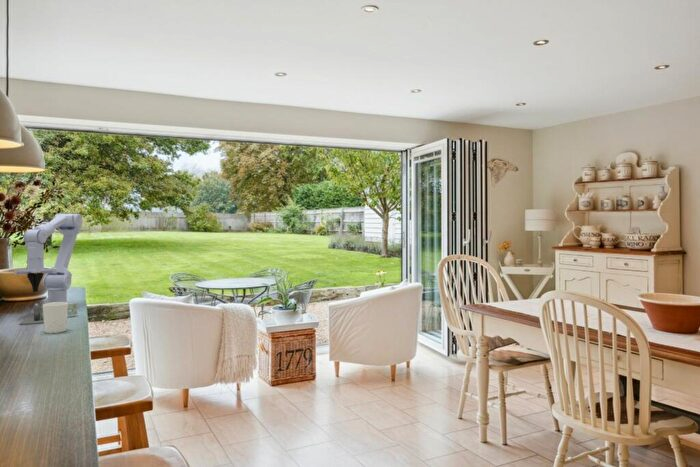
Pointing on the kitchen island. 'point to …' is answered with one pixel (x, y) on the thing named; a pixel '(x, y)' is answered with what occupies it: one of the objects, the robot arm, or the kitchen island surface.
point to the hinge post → (36, 312)
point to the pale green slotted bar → (70, 305)
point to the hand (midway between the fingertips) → (35, 291)
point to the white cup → (55, 316)
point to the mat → (31, 320)
